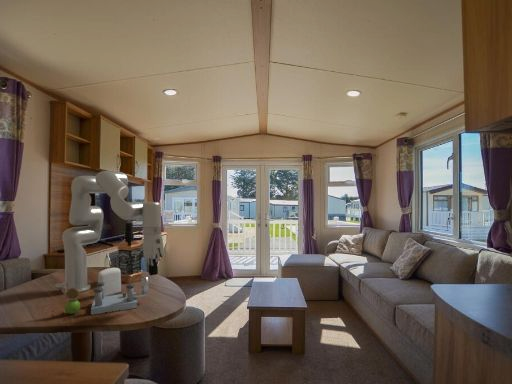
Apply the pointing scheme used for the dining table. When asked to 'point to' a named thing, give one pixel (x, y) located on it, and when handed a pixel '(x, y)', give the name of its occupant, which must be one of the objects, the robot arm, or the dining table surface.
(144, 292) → the hinged leg
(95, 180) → the robot arm
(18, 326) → the dining table surface
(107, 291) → the photo printer
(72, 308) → the snail figurine
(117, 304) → the stool frame
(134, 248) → the whiskey bottle
